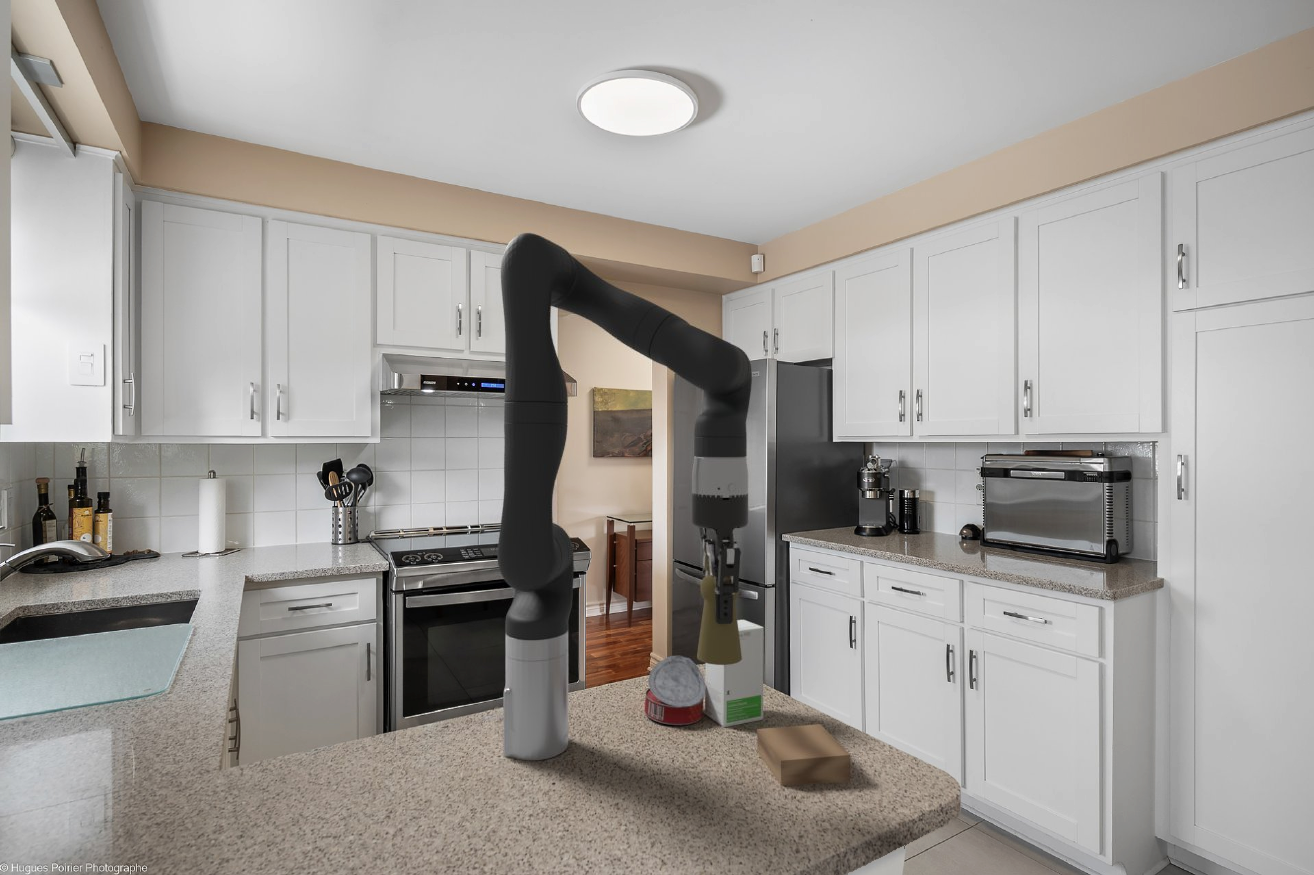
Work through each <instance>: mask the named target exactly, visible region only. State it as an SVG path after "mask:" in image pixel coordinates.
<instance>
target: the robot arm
mask: <svg viewBox="0 0 1314 875" xmlns="http://www.w3.org/2000/svg"><path fill="white" fill-rule="evenodd" d="M500 264H501V265H500V284H501V285H500V286H501V287H500V289H501V296H502V307H503V317H504V319H503V320H504V333H505V334H504V336H505V337H504V338H505V342H504V343H505V345H504V346H505V349H504V350H505V351H504V352H505V359H504V360H505V361H504V362H505V364H504V365H505V366H504V367H505V368H504V370H505V372H504V373H505V376H504V377H505V380H504V381H505V385H504V387H505V388H504V404H503V405H504V406H503V407H504V408H503V409H504V410H503V413H504V414H503V415H504V417H503V418H504V419H503V432H504V434H503V435H504V436H503V438H504V446H503V447H504V453H503V455H504V456H503V479H504V482H503V483H504V484H503V485H504V486H503V500H502V501H503V502H502V513H501V520H500V527H499V536H498V543H497V544H498V546H497V565H498V568H499V569H498V570H499V572H500V575H501V576H502V578H503V580H504V581H505V583H506V584H507V585H508V586H510V587H511V588H512V589H514V590H515V591H514V596H513V599H512V602H511V605H510V606H509V609H508V611H507V613H506V616H505V686H504V689H503V694H502V695H503V700H502V701H503V709H502V710H503V711H502V712H503V716H502V717H503V721H502V722H503V728H502V730H503V733H502V734H503V737H502V738H503V742H502V743H503V744H502V745H503V747H502V748H503V749H502V750H503V754H502V755H503V758H508V757H509V758H514V759H517V760H522V761H541V760H547V759H551V758H554V757H556V756H559V755H560V754H562V753H564V752H565V751H566V750H567V748H568V746H569V733H570V732H569V729H570V728H569V618H570V615H571V612H572V607H573V597H574V596H573V594H574V593H573V591H574V565H575V564H574V560H575V559H574V549H573V543H572V541H571V538H570V536H569V535H568V532H566V530H565V529H564V528H563V527H562V526H560V525H559V524H557V523H555V522H553V500H554V499H553V496H554V489H555V483H556V479H557V476H558V472H559V469H560V466H561V462H562V460H563V455H564V452H565V448H566V442H567V436H568V426H569V425H568V421H569V420H568V419H569V418H568V416H569V412H568V410H569V404H568V403H569V398H568V397H569V396H568V388H567V383H566V379H565V375H564V372H563V369H562V365H561V363H560V359H559V358H558V355H557V352H556V349H555V348H556V347H555V345H554V340H553V336H552V329H551V328H552V327H551V326H552V323H551V314H552V313H551V311H552V310H551V308H553V307H554V308H556V309H559V310H563V311H566V312H569V313H572V314H574V315H578V316H579V317H582V318H584V319H586V320H588V321H589V322H592V323H593V324H596V326H598V327H600V328H601V329H603V330H604V331H605V332H607V333H608V334H610V336H612V337H613V338H614V339H616V340H617V341H619V342H620V343H622V344H624V345H626V347H628V348H630V349H631V350H633V351H635V352H637V353H639V354H640V355H643V357H646V358H647V359H649V360H651V361H653V362H656V363H658V364H660V365H661V366H664V367H666V368H668V369H670V370H671V371H672V372H674V373H675V374H676V375H677V376H678V377H680V378H682V379H683V380H684V381H686V382H688V383H690V384H691V385H693V386H694V387H697V388H698V389H701V390H702V392H703V394H702V407H701V413H700V414H699V415H698V416H697V418H696V420H695V423H694V428H693V430H694V432H693V437H694V438H693V439H694V440H693V443H694V444H693V445H694V446H693V451H694V452H693V456H694V457H693V466H692V473H691V523H692V525H693V526H695V527H696V528H701V529H702V528H703V529H706V533H702V534H701V536H700V537H701V547H702V548H701V549H702V550H701V551H702V556H701V557H702V576H703V577H706V576H708V575H710V576H711V577H713V578H714V586H715V588H714V592H715V621H716V622H717V623H718V624H730V623H732V621H733V595H734V594H735V593H738V590H739V591H740V584H739V582H740V567H741V566H740V564H741V555H742V551H741V548H740V547H738V542H737V540H736V541H735V540H734V533H733V532H734V530H735V529H741V528H742V529H743V528H745V527H746V526H748V524H749V470H748V463H747V460H748V458H747V453H748V452H747V442H748V440H747V439H748V438H747V437H748V436H747V435H748V433H747V418H748V413H749V409H750V408H749V407H750V401H751V394H752V381H753V376H752V375H753V374H752V372H753V371H752V365H751V361H750V358H749V356H748V355H747V353H746V352H745V351H744V350H743V349H742V348H740V347H739V346H738V345H734V344H732V343H731V342H728V341H727V340H724V339H722V338H721V337H718V336H716V335H714V334H712V333H710V332H707V331H705V330H704V329H701V328H698V327H696V326H695V325H691V324H690V323H689V322H688V321H687V320H685V319H683V318H682V317H680V316H679V315H677V314H675V313H673V312H671V311H669V310H667V309H666V308H663V307H661V306H660V305H658V304H655V303H654V302H652V301H650V300H648V299H645V298H643V297H641V296H638V295H637V294H634V293H631V292H629V291H626V290H624V289H621V288H620V287H617V286H614V285H613V284H611V283H609V281H606V280H604V279H603V278H601V277H600V276H599V275H597V274H595V273H594V272H593V271H591V270H590V269H589V268H588V267H587V266H585V265H584V264H583V263H581V262H580V261H579V260H578V259H576V258H575V257H574V256H573V255H572V254H570V252H569V251H568V250H566V249H565V248H564V247H563V246H560V245H559V244H557V243H555V242H553V241H551V240H550V239H547V238H546V237H543V236H541V235H539V234H536V233H532V232H525V233H524V232H523V233H520V234H517V235H516V236H515V237H513V238H512V239H511V240H510V241H509V243H508V244H507V245H506V247H505V249H504V252H503V254H502V258H501V263H500ZM724 577H728V578H729V583H723V581H724Z"/></svg>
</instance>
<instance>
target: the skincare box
mask: <svg viewBox="0 0 1314 875" xmlns="http://www.w3.org/2000/svg"><path fill="white" fill-rule="evenodd" d="M737 622H738V630H739V638H740V646H741V655H742V660H741V661H740V662H738V663H735V664H730V665H714V664H708V663H705V668H704V669H705V672H704V673H705V676H704V678H705V679H704V682H705V685H706V689H705V695H704V715H706V716H707V717H709V718H710V719H711V720H713V721H714V722H715V723H718V724H719V725H720V726H722V728H727V727H731V726H737V725H742V724H747V723H748V724H749V723H753V722H757V721H761V720H764V647H765V646H764V640H765V638H764V634H765V633H764V630H765V629H764V628H765V627H764V626H761V625H759V624H756V623H754V622H751V621H748V620H746V619H737Z"/></svg>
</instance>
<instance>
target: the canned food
mask: <svg viewBox="0 0 1314 875" xmlns="http://www.w3.org/2000/svg"><path fill="white" fill-rule="evenodd" d="M704 678H705V677H704V675H703V673H702V672H701V671H700V669H699V666H698V665H697V664H696V663H695V662H694V661H693V660H692V659H691V658H689V657H685V656H683V655H680V654H679V655H670V656H667V657H665V658H663V659H662V660H660V661H658V662H657V663H656V664H655V666H654V667H653V668H652V669H651V670H650V673H649V675H648V680H647V682H648V686H649V688H648V689H647V690H646V691H645V697H644V701H645V702H644V714H645V716H646V717H647V718H649V719H651V720H652V721H655V722H657V723H660V724H665V725H673V726H685V725H692V724H695V723H697V722H699V721H700V720H702V718H703V715H704V714H703V709H704V700H705V689H706V685H705V679H704Z"/></svg>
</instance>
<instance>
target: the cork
mask: <svg viewBox="0 0 1314 875" xmlns="http://www.w3.org/2000/svg"><path fill="white" fill-rule="evenodd" d="M723 583H729V578H728V577H724V581H723ZM714 588H715V586H714V578H713V577H711V576H710V575H708V576H706V577H705V576H703V578H702V580H701V582H700V595H701V597H702V598H703V600H704V602H703V607H702V608H703V609H702V617H701V622H700V631H699V639H698V646H697V652H696V653H697V655H696V659H697V660H698V661H699V662H702V663H705V664H706V663H708V664H714V665H730V664H735V663H738V662H740V661H741V660H742V655H741V646H740V638H739V630H738V622H737V620H738V615H737V607H736V599H738V596H739V593H740V589H739V590H738V593H735V594H734V595H733V621H732V623H730V624H718V623H717V622H716V621H715V592H714Z"/></svg>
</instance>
